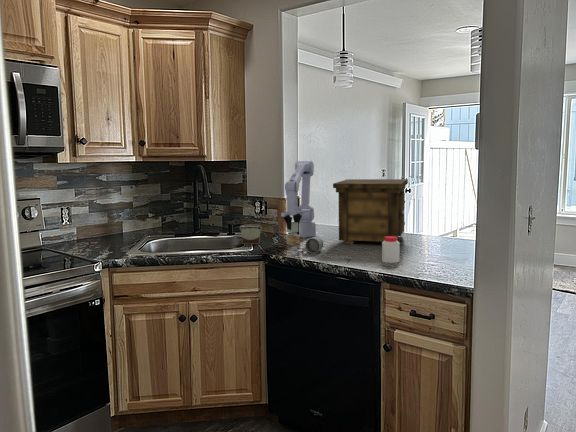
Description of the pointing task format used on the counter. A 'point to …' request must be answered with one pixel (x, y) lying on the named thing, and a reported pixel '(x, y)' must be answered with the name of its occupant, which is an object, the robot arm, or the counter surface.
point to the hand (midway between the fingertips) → (292, 228)
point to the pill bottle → (390, 249)
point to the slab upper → (293, 237)
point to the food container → (250, 233)
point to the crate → (370, 209)
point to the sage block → (293, 227)
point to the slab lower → (293, 242)
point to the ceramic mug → (313, 245)
